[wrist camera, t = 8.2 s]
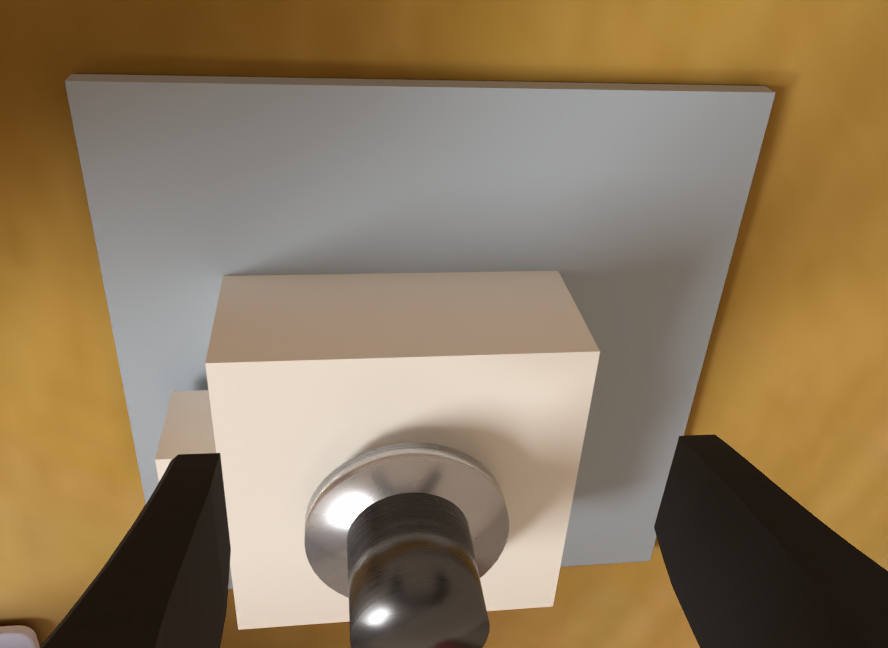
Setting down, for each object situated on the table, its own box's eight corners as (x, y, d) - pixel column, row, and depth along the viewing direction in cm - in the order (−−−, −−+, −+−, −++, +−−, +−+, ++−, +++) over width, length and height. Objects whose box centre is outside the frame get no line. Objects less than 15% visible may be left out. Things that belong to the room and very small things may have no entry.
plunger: (469, 470, 26) (522, 695, 19) (309, 478, 25) (306, 715, 18) (482, 337, 23) (547, 546, 17) (303, 342, 22) (297, 562, 16)
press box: (523, 508, 27) (553, 606, 24) (196, 526, 26) (178, 633, 22) (558, 270, 22) (599, 351, 19) (159, 276, 21) (129, 365, 18)
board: (644, 548, 30) (650, 560, 29) (165, 579, 28) (163, 593, 27) (764, 85, 21) (775, 92, 21) (71, 74, 19) (64, 81, 18)
